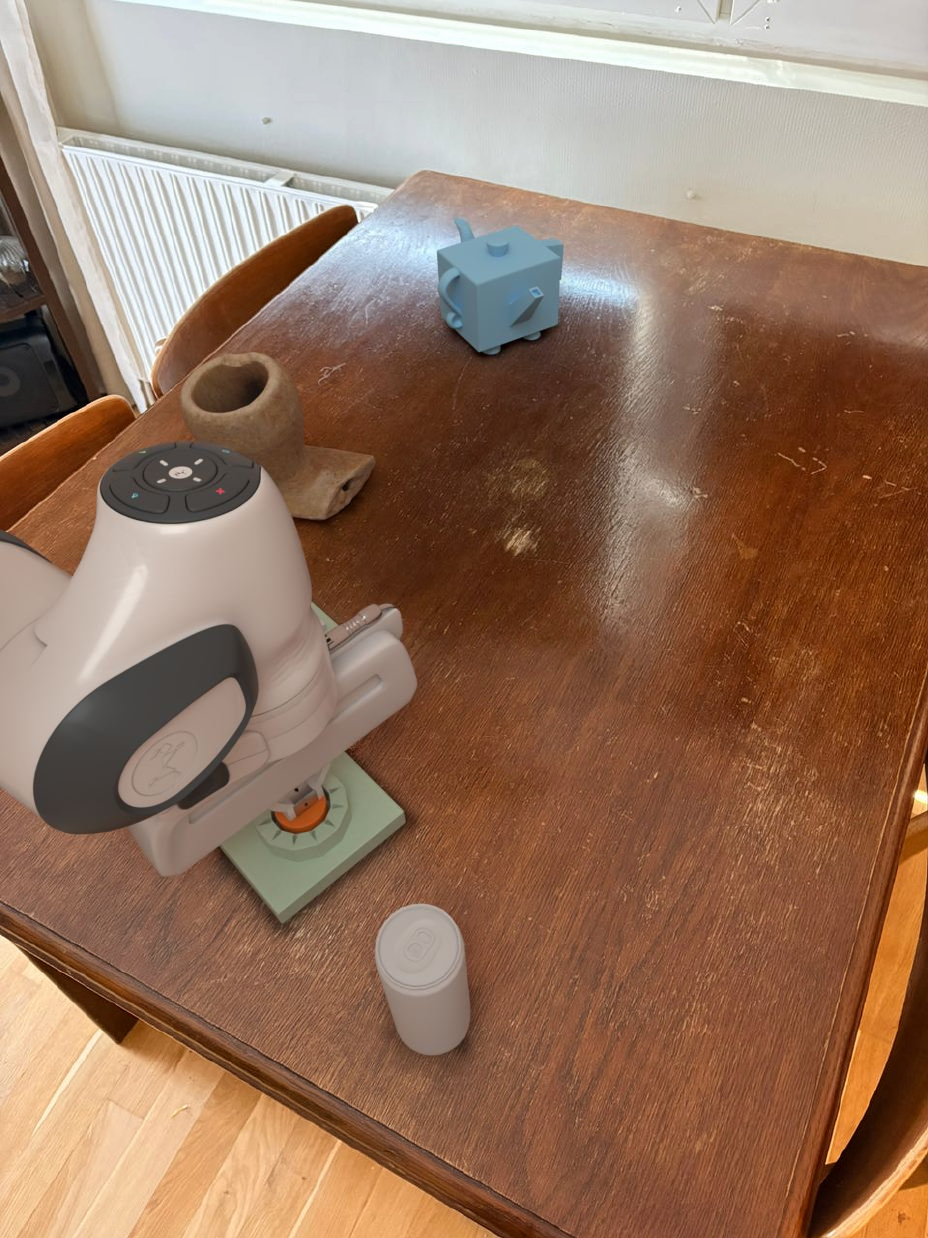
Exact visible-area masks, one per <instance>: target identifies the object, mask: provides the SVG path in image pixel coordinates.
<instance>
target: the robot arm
mask: <svg viewBox="0 0 928 1238" xmlns="http://www.w3.org/2000/svg"><path fill="white" fill-rule="evenodd" d="M312 599H313V585H312V580H311V575H310V571H309V567H308V563H307V559H306V556H305V552H304V548H303V546H302V541H301V538H300V536H299V533H298V530H297V527H296V525H295V522H294V518H293V517H292V516H291V514H290V512H289V509H288V507H287V505H286V503H285V501H284V499H283V497H282V495H281V493H280V491H279V489H278V488H277V486H276V484H275V483H274V481H273V480H272V478H271V477H270V476H269V474H268V473H267V472H266V471H265V469H264V468H263V467H262V466H261V465H260V464H258V463H257V462H255V461H254V460H252V459H250V458H248V457H246V456H244V455H242V454H240V453H237V452H235V451H233V450H230V449H228V448H225V447H222V446H219V445H215V444H211V443H206V442H200V441H197V440H196V441H175V442H174V441H168V442H163V443H157V444H153V445H150V446H147V447H144V448H141V449H138V450H135V451H133V452H130V453H129V454H127V455H124V456H123V457H121V458H120V459H118V460H116V461H115V462H114V463H112V464H110V466H109V467H108V468H107V469H106V470H105V472H104V473H103V475H102V476H101V478H100V479H99V481H98V485H97V490H96V510H95V519H94V526H93V528H92V532H91V534H90V537H89V540H88V542H87V545H86V548H85V550H84V553H83V555H82V557H81V559H80V562H79V563H78V565H77V567H76V569H75V571H74V573H73V575H71V574H70V573H68V572H66V571H65V570H63V569H61V568H60V567H59V566H57V565H56V564H54V563H53V562H52V561H51V560H49V559H48V558H47V557H45V556H44V555H42V553H40V552H39V551H37V550H36V549H34V548H33V547H32V546H31V545H29V544H28V543H26V542H25V541H24V540H22V539H21V538H19V537H17V536H16V535H15V534H12V533H11V532H8V531H6V530H4V529H1V528H0V788H1V789H2V790H3V791H4V792H6V793H7V794H8V795H9V796H11V798H13V799H14V800H16V801H17V802H19V803H20V805H22V806H24V807H25V808H27V809H28V810H29V811H30V812H32V813H33V814H34V815H36V816H37V817H38V818H40V819H42V820H43V822H44V823H45V824H46V825H48V826H49V827H51V828H52V829H54V830H56V831H58V832H61V833H65V834H69V835H96V834H104V833H110V832H114V831H117V830H121V829H125V828H127V830H128V832H129V833H130V836H131V837H132V839H133V840H134V842H135V843H136V845H137V846H138V848H139V849H140V851H141V852H142V853H143V855H144V856H145V858H146V859H147V860H148V862H149V863H150V864H151V866H152V867H153V868H154V870H155V871H156V872H157V873H158V875H159V876H160V877H163V878H168V877H177V876H180V875H182V874H184V873H186V872H187V871H189V869H190V868H191V867H193V866H194V865H196V864H197V863H199V862H200V861H201V860H202V859H204V858H205V857H206V856H207V855H209V854H210V853H212V852H213V851H214V850H215V849H217V848H218V847H219V845H221V844H222V843H223V842H225V841H226V840H227V839H229V838H230V837H231V836H233V835H234V834H235V833H237V832H238V831H239V830H241V829H242V828H243V827H244V826H246V825H247V824H248V823H250V822H251V821H252V820H254V819H255V818H256V817H258V816H259V815H260V814H262V813H263V812H264V811H266V810H267V809H268V810H269V811H277V812H282V813H283V814H284V816H285V817H286V818H287V819H288V820H289V821H290V822H291V821H293V820H294V819H295V818H296V817H298V816H299V815H300V814H301V813H302V812H304V811H305V810H306V809H308V808H309V807H310V806H312V805H313V804H314V803H316V802H317V801H318V800H320V799H321V798H322V797H324V792H323V789H322V786H321V785H322V784H323V782H324V780H325V777H326V775H327V773H328V771H329V768H330V766H331V761H332V760H333V759H335V758H336V757H337V756H339V755H340V754H341V753H343V752H344V751H345V752H346V750H348V749H350V748H351V747H352V746H353V745H355V744H356V743H357V742H359V741H360V740H362V739H363V738H364V737H365V736H367V735H368V734H370V733H371V732H372V731H373V730H375V728H377V727H379V726H380V725H381V724H383V722H385V721H386V720H388V719H389V718H391V717H392V716H393V715H394V714H396V713H397V712H398V711H400V710H401V709H402V708H404V707H405V706H406V705H407V704H409V703H410V702H411V700H412V699H413V697H414V694H415V693H416V690H417V688H418V679H417V675H416V671H415V668H414V665H413V662H412V660H411V657H410V654H409V652H408V650H407V648H406V646H405V645H404V644H403V642H402V641H401V638H402V635H403V631H404V626H403V619H402V614H401V612H400V610H399V608H398V606H396V605H395V604H393V603H381V604H379V605H378V604H377V603H371V604H368V605H367V606H364V607H363V608H362V609H360V610H359V611H358V612H357V613H356V614H355V615H354V616H353V617H351V618H350V619H348V620H346V621H345V622H343V623H341V624H338V625H339V626H337V627H335V628H334V629H332V630H331V631H329V632H328V633H326V634H324V630H323V627H322V625H321V622H320V620H319V618H318V616H317V615H316V613H315V611H314V610H313V609H312V608H311V601H312V602H313V600H312Z"/></svg>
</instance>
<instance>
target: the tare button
mask: <svg viewBox="0 0 928 1238" xmlns="http://www.w3.org/2000/svg"><path fill="white" fill-rule="evenodd" d="M328 812H329V807H328V804H327V801H326V798H325V795H324V797H322V798H321V799H320V800H318V801H317V802H316V803H314V804H313V805H312V806H310V807H309V808H308V809H306V810H305V811H304V812H302V813H301V814H300V815H299V816H298V817H296V818H295V819H294V820H293V821H291V822H290V821H289V820H288V819H287V818H286V817H285V816H284V814H283V813H282V812H277V811H274V813H275V816H276V818H277V821H278V823H279V825H280V828H281V830H282V831H286V832H289V833H293V834H299V833H303V832H308V831H312V830H313V829H314V828H316V827H317V826H318V825H319V824H321V823H322V822H323V821H324V820H325V818H326V816H327V814H328Z"/></svg>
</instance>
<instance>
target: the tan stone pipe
mask: <svg viewBox="0 0 928 1238" xmlns="http://www.w3.org/2000/svg"><path fill="white" fill-rule="evenodd" d="M178 406H179V409H180V413H181V416H182V420H183V422H184V424H185V426H186V427H187V429H188V431H189V432H190V434H191V436H193V438H194V439H195V440H196V441H200V442H206V443H211V444H215V445H219V446H222V447H225V448H228V449H230V450H233V451H235V452H237V453H240V454H242V455H244V456H246V457H248V458H250V459H252V460H254V461H255V462H257V463H258V464H260V465H261V466H262V467H263V468H264V469H265V471H266V472H267V473H268V474H269V476H270V477H271V478H272V480H273V481H274V483H275V484H276V486H277V488H278V489H279V491H280V493H281V495H282V497H283V499H284V501H285V503H286V505H287V507H288V509H289V512H290V514H291V516H292V518H296V519H304V520H312V521H324V520H327V519H329V518H331V517H332V516H334V515H336V514H337V513H339V512H340V511H341V510H343V509H344V508H345V507H346V506H348V505H349V504H350V503H351V501H352V499H353V498H354V497H356V495H358V493H359V492H360V491H361V490H362V489H363V487H364V485H365V483H366V482H367V481H368V480H369V478H370V475H371V474H372V472H373V469H374V468H375V466H376V458H375V457H374V455H370V454H367V453H366V454H365V453H359V452H354V451H348V450H343V449H342V450H341V449H337V448H329V447H322V446H316V445H315V446H314V445H307V444H305V426H304V423H305V422H304V421H305V420H304V411H303V406H302V401H301V398H300V394H299V390H298V387H297V385H296V384H295V381H294V379H293V377H292V375H291V374H290V373H289V372H288V370H287V369H286V367H285V366H284V365H282V364H281V363H280V362H279V361H278V360H276V359H275V358H273V357H271V356H269V355H268V354H265V353H260V352H256V351H251V352H245V353H227V354H223V355H220V356H217V357H214V358H212V359H210V360H209V361H207V362H205V363H204V364H202V365H200V366H199V367H198V368H196V369H195V370H193V372H192V373H191V374H190V375H189V376H188V377H187V379H186V380H185V381H184V382H183V384H182V386H181V389H180V393H179V405H178Z"/></svg>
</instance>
